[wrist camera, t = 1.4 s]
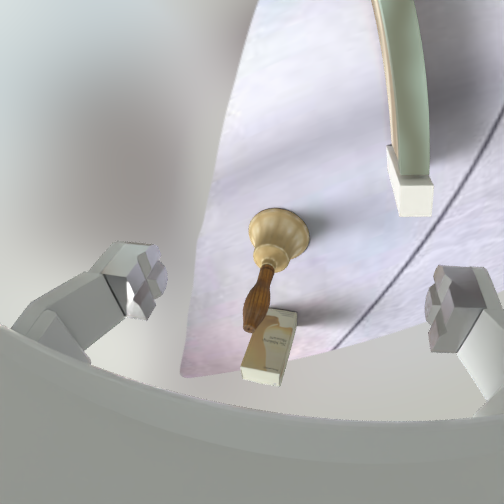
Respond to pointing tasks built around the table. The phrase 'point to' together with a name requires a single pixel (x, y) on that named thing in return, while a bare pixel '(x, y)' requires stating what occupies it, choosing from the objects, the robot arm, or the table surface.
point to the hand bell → (271, 257)
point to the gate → (405, 83)
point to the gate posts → (410, 189)
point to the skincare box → (270, 348)
